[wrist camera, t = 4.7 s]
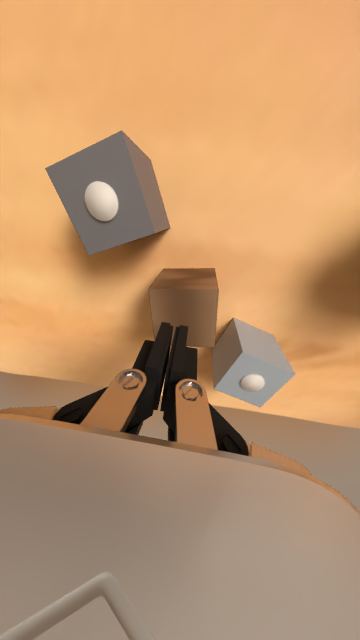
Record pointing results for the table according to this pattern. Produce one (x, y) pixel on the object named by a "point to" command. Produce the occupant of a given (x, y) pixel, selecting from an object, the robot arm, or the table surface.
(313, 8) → the table surface
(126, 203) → the charcoal block
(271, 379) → the slate block
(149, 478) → the robot arm
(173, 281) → the walnut block
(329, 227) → the table surface
